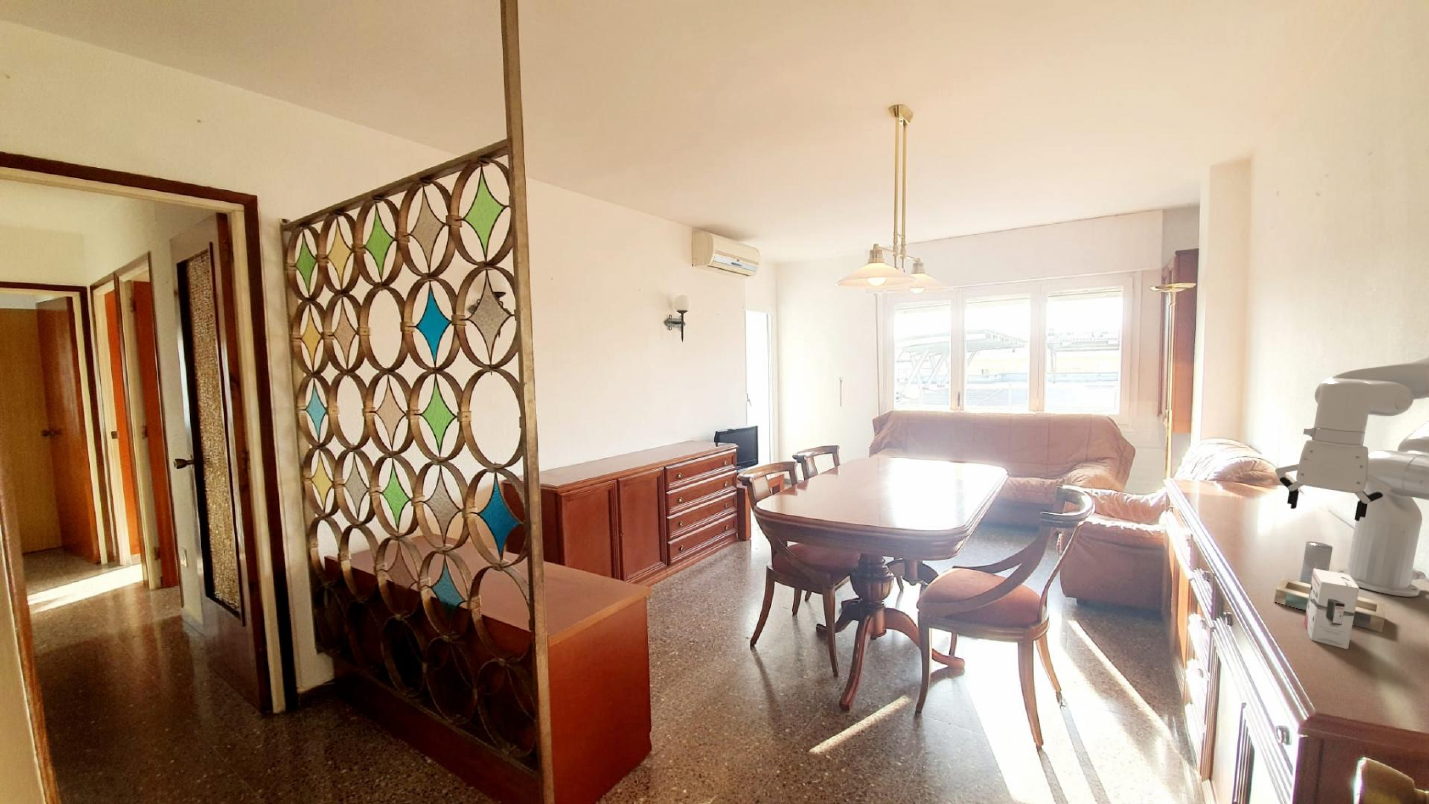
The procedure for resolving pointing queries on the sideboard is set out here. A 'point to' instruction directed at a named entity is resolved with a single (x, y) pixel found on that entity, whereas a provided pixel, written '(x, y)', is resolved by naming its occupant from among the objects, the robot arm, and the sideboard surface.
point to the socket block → (1365, 612)
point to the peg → (1315, 559)
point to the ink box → (1331, 607)
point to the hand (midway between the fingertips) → (1324, 513)
